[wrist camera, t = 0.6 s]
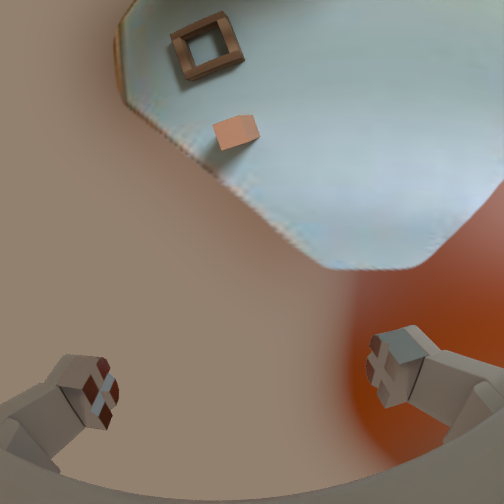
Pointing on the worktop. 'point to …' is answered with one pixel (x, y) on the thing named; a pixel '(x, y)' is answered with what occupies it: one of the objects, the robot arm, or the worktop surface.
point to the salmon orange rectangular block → (236, 131)
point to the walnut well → (196, 29)
